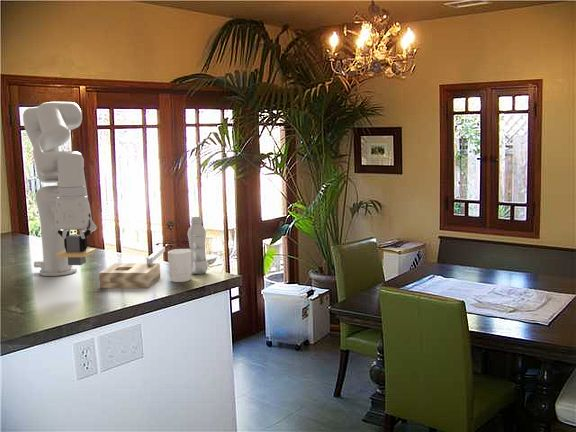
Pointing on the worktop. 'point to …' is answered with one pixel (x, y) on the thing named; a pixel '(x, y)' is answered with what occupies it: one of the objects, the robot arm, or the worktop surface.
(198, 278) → the worktop surface
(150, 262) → the silver rod
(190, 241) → the plastic bottle
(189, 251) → the white cup
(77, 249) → the plug
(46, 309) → the worktop surface
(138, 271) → the socket block
